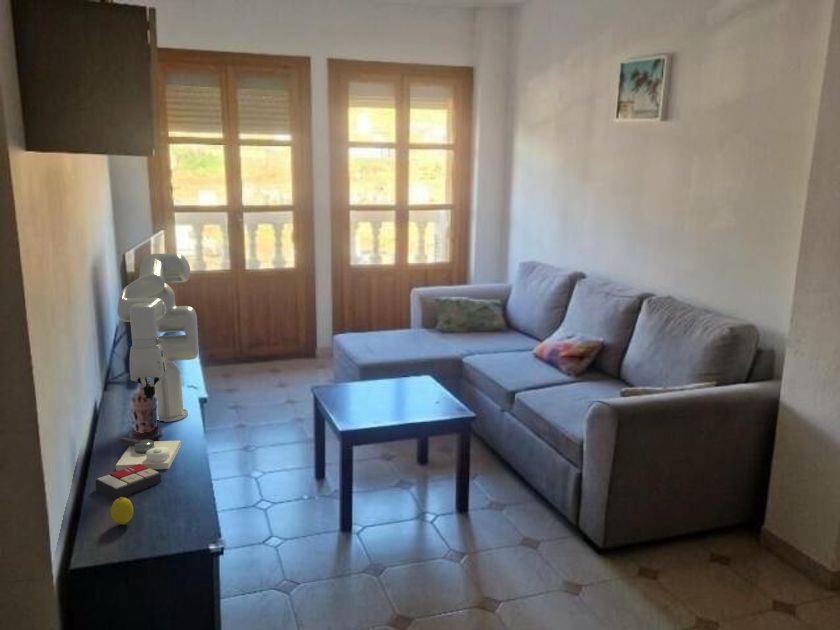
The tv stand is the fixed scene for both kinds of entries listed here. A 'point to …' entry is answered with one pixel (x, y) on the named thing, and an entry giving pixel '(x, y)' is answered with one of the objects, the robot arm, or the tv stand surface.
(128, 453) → the base
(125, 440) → the gray scoop
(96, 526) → the tv stand surface
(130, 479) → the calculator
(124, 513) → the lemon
